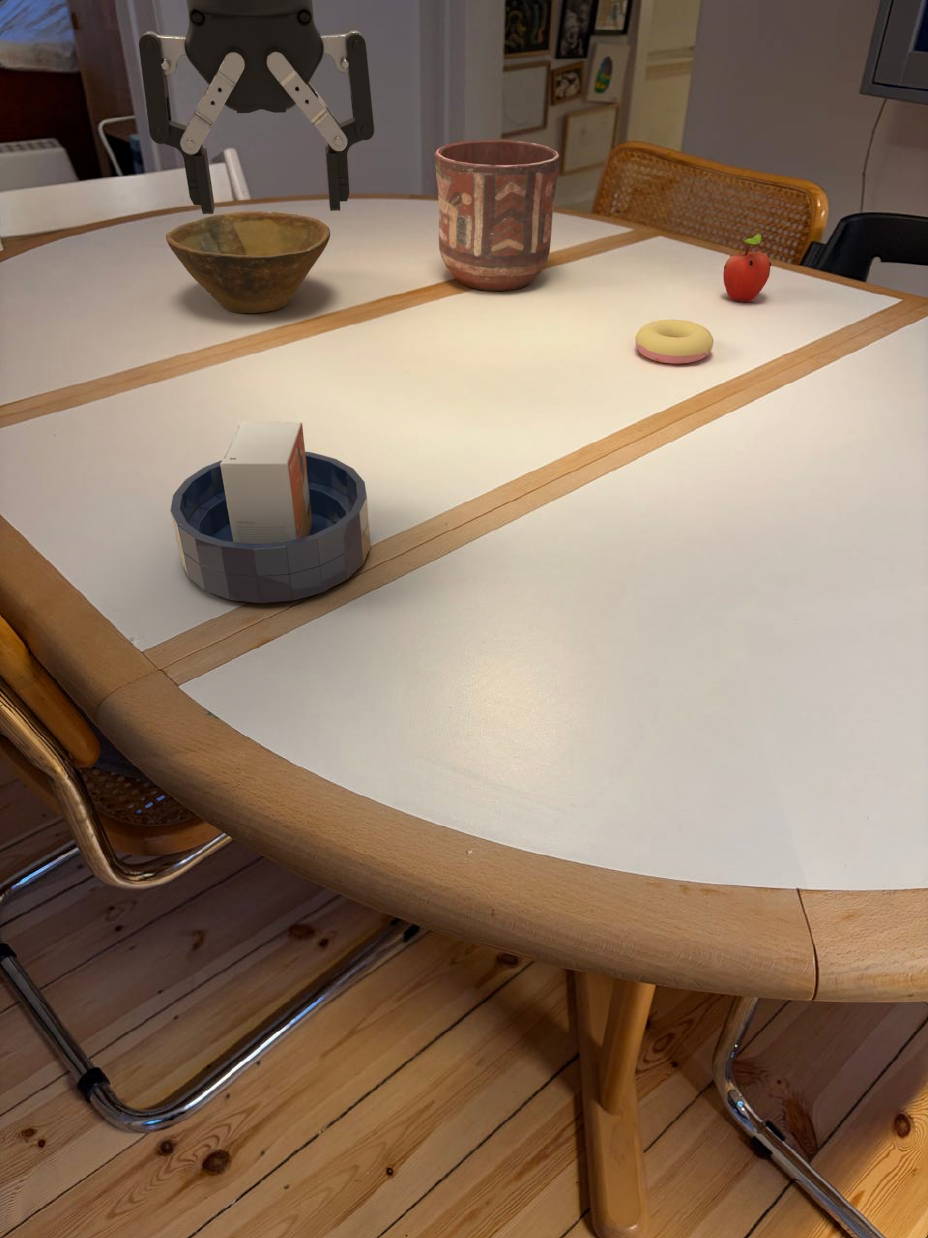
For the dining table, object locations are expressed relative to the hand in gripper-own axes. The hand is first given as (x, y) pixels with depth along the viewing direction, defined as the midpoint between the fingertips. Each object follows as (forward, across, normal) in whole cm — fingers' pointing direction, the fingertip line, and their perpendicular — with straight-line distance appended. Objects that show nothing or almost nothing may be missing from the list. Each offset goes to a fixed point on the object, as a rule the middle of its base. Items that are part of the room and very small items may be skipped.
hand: (272, 209), depth 64 cm
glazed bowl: (+30, -3, +3) cm, 30 cm away
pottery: (+30, +30, +75) cm, 86 cm away
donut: (+30, +48, +43) cm, 71 cm away
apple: (+30, +65, +61) cm, 94 cm away
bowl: (+30, -6, +69) cm, 76 cm away
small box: (+30, -3, +3) cm, 30 cm away
